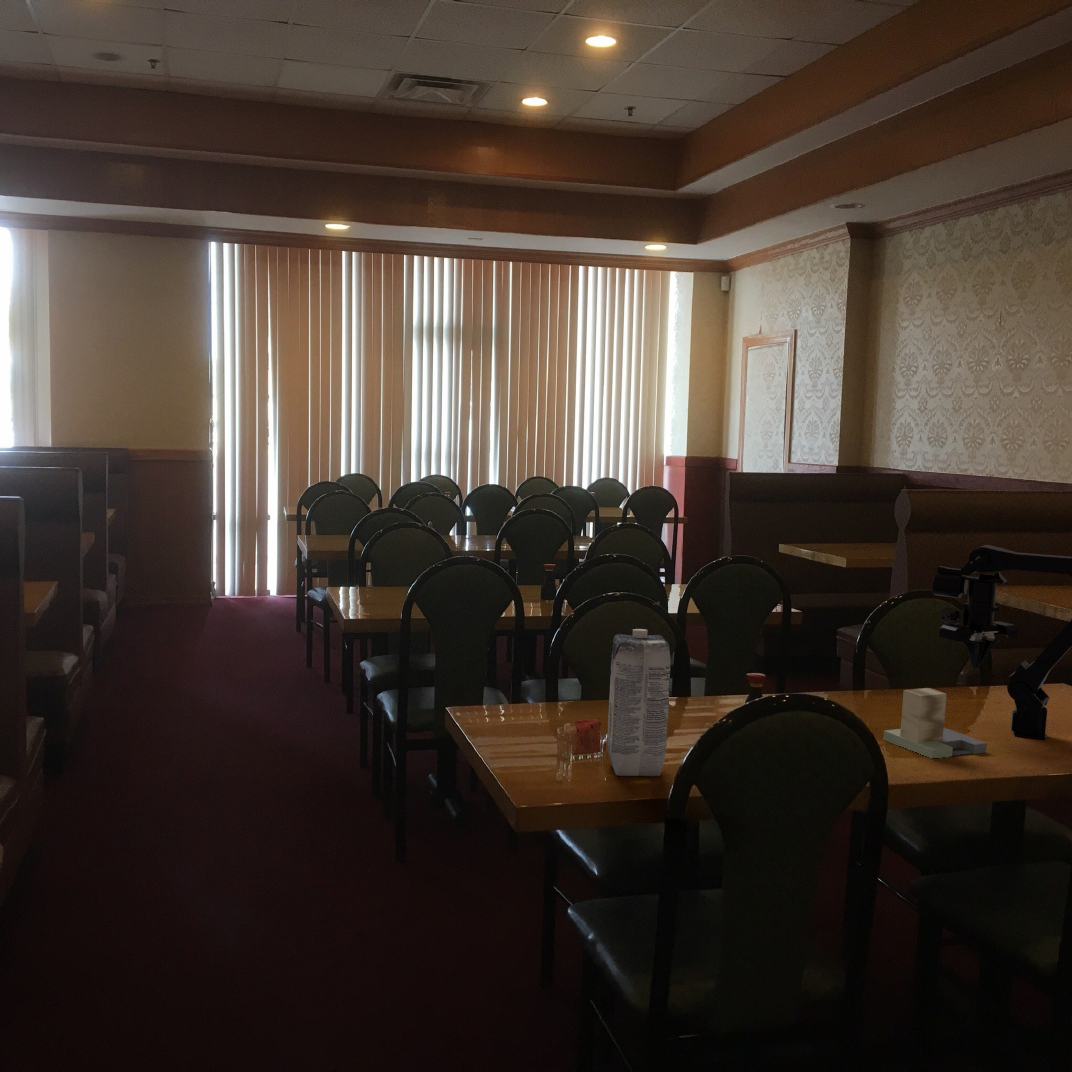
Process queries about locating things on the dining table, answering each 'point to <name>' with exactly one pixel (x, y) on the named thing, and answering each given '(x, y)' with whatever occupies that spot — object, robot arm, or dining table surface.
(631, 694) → the juice carton
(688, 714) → the dining table surface
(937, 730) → the maple block
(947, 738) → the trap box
